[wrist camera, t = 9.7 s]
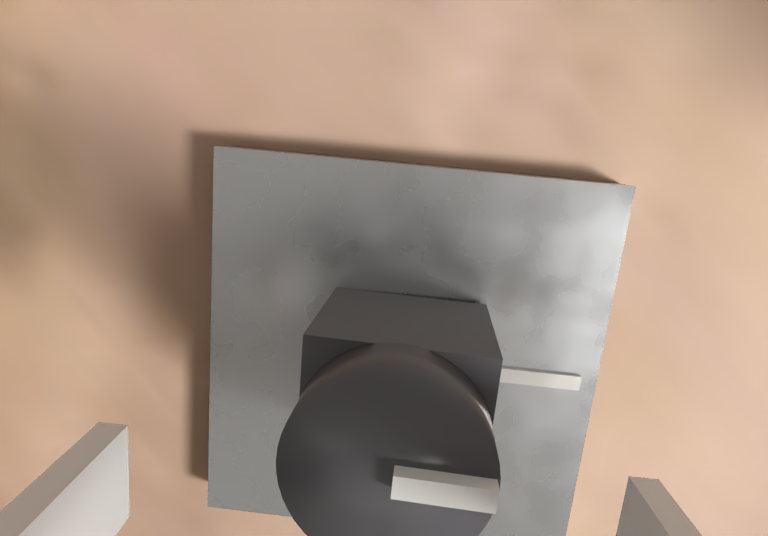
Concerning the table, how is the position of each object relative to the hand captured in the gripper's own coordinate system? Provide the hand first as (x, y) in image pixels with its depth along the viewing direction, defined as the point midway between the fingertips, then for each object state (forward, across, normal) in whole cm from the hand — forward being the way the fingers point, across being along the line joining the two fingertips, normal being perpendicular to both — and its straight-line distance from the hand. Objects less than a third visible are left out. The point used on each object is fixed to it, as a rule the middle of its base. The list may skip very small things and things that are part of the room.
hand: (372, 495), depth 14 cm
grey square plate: (+10, +1, 0) cm, 10 cm away
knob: (+8, +1, 0) cm, 8 cm away
